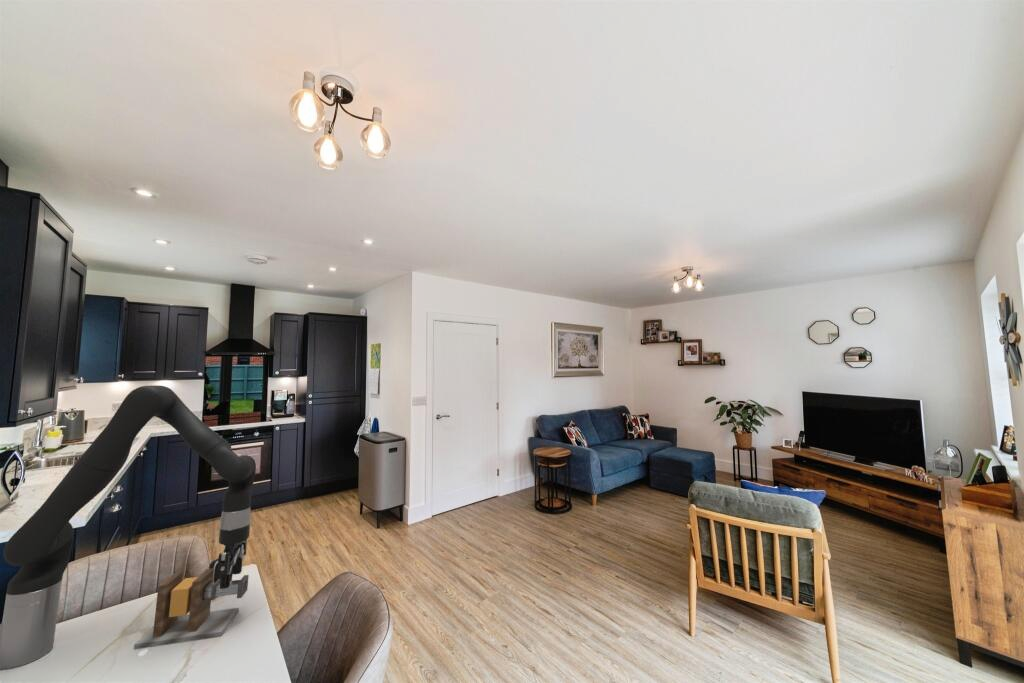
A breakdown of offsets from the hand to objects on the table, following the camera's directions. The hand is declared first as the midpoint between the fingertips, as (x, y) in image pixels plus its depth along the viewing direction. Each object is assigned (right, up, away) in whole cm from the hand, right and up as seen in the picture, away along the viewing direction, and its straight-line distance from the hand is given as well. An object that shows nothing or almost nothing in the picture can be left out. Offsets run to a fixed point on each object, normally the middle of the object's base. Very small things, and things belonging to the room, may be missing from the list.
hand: (231, 580), depth 113 cm
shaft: (-6, -4, -2) cm, 8 cm away
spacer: (-11, -6, -4) cm, 13 cm away
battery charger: (-15, -14, +15) cm, 26 cm away
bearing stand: (-9, -12, -4) cm, 15 cm away
